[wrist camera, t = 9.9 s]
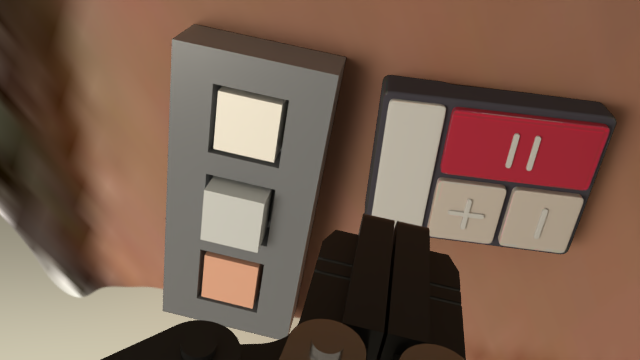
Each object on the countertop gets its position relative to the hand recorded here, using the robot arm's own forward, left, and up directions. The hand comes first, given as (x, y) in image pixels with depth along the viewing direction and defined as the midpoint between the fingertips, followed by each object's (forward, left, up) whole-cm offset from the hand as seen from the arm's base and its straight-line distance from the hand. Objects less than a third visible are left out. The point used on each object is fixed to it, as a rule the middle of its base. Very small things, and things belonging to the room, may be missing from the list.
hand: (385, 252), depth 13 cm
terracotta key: (+9, +23, -26) cm, 36 cm away
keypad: (+9, +16, -27) cm, 33 cm away
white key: (+9, +9, -26) cm, 29 cm away
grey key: (+9, +16, -24) cm, 31 cm away
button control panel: (-7, +10, -28) cm, 31 cm away
